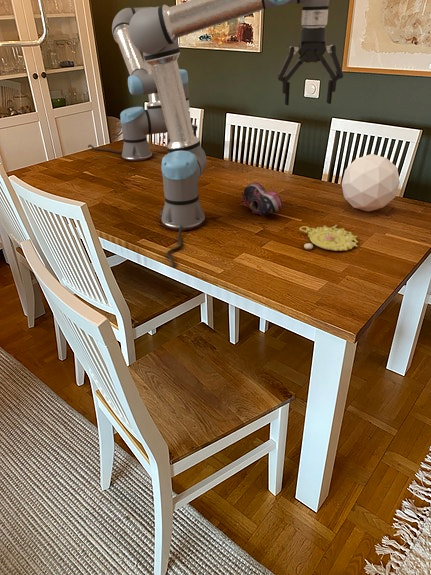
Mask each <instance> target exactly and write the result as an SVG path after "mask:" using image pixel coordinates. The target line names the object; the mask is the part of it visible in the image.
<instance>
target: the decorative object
mask: <svg viewBox="0 0 431 575" xmlns="http://www.w3.org/2000/svg"><path fill="white" fill-rule="evenodd" d="M303 228H304V229H305V230H304V229H303ZM299 231H300V232H303V233H305V234H307V237H308V238H309V240H310V241H311V243H304V244H303V248H304V249H305V250H313V249H314V245H315V246H316V247H318V248H321V249H324V250H328V251H335V252H341V251H348V250H352V249H354V247H356V248H358V247H359V245H358V244H357V243H359V240H357V238H359V237H358V235H353V234H352V231H347V230H346V229H345V228H344V227H342V228H338V224H335V225H333V226H331V227H328V226H327V225H326V224H325V225H323V226H322V227H321V226H317V227H316V228H314V227H309V226H308V225H302V226H300V227H299ZM313 244H314V245H313Z"/></svg>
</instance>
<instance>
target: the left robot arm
mask: <svg viewBox="0 0 431 575" xmlns="http://www.w3.org/2000/svg"><path fill="white" fill-rule="evenodd" d="M155 7H156V6H154V7H153V6H146V7H145V6H144V7H125V8H123V9H121V10H120V11H118V12H117V14H116V15H115V16H114V18H113V21H112V23H111V24H112V25H111V34H112V36H113V40H114V42H115V43H117V44H118V46H119V50H120V52H121V55H122V58H123V61H124V64H125V66H126V68H127V71H128V74H129V76H128V78H127V87H128V91H129V93H130V95H132V96H145V95H148V103H147V104H146V109H145V108H144V107H143V106H133V107H129V108H126V109H123V110H122V111H121V112H120V114H119V117H120V124H121V133H122V139H123V140H122V141H123V145H122V150H113V149H108V148H98V147H94V146H93V145H92V144H88V145H87V148H90V147H91V149H93V150H95V151H103V152H110V153H113V154H114V153H115V154H121V159H122V160H123V161H126V162H142V161H147V160H150V159H151V158H153V151H152V149H151V147H150V144H149V142H148V136H149V135H158V134H166V133H167V141H168V144H169V142H170V139H169V135H168V131H167V127H166V123H165V119H164V115H163V111H162V107H161V103H160V99H159V95H158V91H157V87H156V83H155V79H154V75H153V71H152V67H151V66H150V65H149V64H148V63H146V62H145V59H144V55H143V54H141V51H140V50H138V49H137V48H136V47H135V46H134V44H133V43H132V41H131V39H130V35H129V24H130V20H131V18H132V17H133V15H134V14H135V13H136V12H137V11H139V10H141V9H145V8H155ZM142 55H143V56H142ZM179 71H180V75H181V80H182V84H183V89H184V93H185V98H186V102H187V107H188V111H189V115H190V116H191V111H190V94H189V93H190V92H189V91H190V90H189V75H188V70H187V69H181V68H179ZM192 129H193V133H194V136H196V137H197V131H198V125H197V124H192Z"/></svg>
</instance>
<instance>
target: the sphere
mask: <svg viewBox="0 0 431 575" xmlns="http://www.w3.org/2000/svg"><path fill="white" fill-rule="evenodd" d="M400 183H401V181H400V176H399V170H398V167H397V165H395V164H394V163H393V162H392V161H390V160H389V159H388V157H385V156H382V155H381V156H380V155H377V154H374V153H370V154H367V155H362V156H360V157H356V158H355V159H354V160H353V161H352V162H351V163H350V164H349V165H348V166H347V167H346V168H345V169H344V173H343V177H342V180H341V188H342V193H343V199H345V200H346V201H347V203H349V204H350V206H352V208H354V209H358V210H361V211H364V212H367V213H368V212H372V211H376V210H379V209H382V208H384V207H385V206H387V205H388V204H390V203H391V201H393V200H394V199H395V198H396V196H397V193H398V190H399V187H400Z"/></svg>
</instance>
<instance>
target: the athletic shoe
mask: <svg viewBox="0 0 431 575" xmlns="http://www.w3.org/2000/svg"><path fill="white" fill-rule="evenodd" d="M241 197H242V199H243V201H238V203H239V204H241V205H245V206H246V207H247V208H248V210H249V211H250V210H251V213H252V214H255V215H260V217H266V216H267V215H270V214H274V213H275V212H279V211H282V210H283V209H284V205H283V201H282V198H281V196H280V195H279V194H278V192H277V191H274V190H269V191H267V190H266V189H265V187H264V186H263V185H262V184H261V183H258V182H251V183H249V184H247V186H246V187H245V188H244V190H243V191H242V192H241Z"/></svg>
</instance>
